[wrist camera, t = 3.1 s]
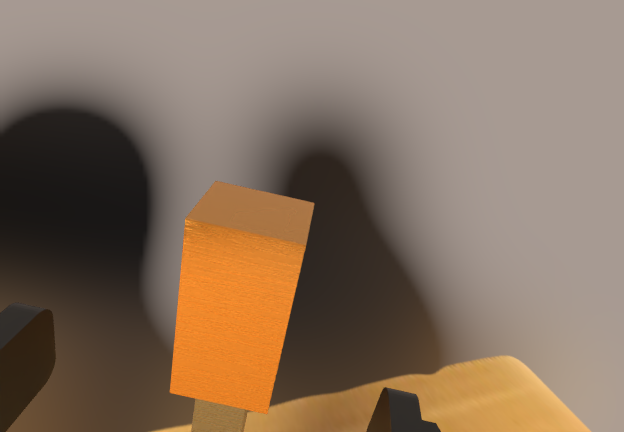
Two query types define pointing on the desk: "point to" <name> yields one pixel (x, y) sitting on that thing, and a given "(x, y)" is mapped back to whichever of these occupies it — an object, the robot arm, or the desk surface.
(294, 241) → the lever
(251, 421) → the desk surface
